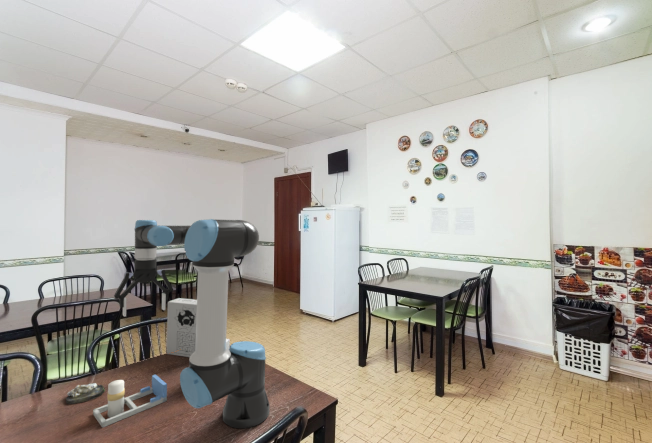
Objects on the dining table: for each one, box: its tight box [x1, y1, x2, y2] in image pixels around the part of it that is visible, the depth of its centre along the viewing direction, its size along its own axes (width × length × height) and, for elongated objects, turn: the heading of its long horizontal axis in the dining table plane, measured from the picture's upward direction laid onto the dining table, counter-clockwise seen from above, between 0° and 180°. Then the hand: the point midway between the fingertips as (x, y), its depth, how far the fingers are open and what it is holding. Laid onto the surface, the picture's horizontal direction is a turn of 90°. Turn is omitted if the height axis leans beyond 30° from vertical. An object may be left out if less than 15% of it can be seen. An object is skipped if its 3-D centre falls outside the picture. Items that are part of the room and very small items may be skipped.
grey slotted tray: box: [92, 374, 168, 429], centre depth 106 cm, size 19×10×6 cm, turn 140°
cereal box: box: [166, 297, 197, 358], centre depth 148 cm, size 22×8×25 cm, turn 76°
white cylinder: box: [106, 379, 126, 419], centre depth 102 cm, size 5×5×10 cm
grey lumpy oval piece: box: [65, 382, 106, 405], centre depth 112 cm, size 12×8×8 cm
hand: (144, 312), depth 123 cm, fingers open, 13 cm apart
